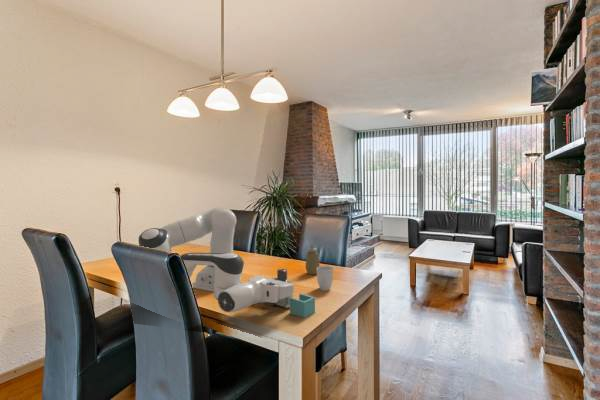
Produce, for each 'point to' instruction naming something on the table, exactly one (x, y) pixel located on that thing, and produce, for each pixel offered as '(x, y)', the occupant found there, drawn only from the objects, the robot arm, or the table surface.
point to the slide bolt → (282, 277)
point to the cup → (325, 277)
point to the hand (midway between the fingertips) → (283, 280)
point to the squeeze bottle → (312, 260)
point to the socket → (302, 305)
